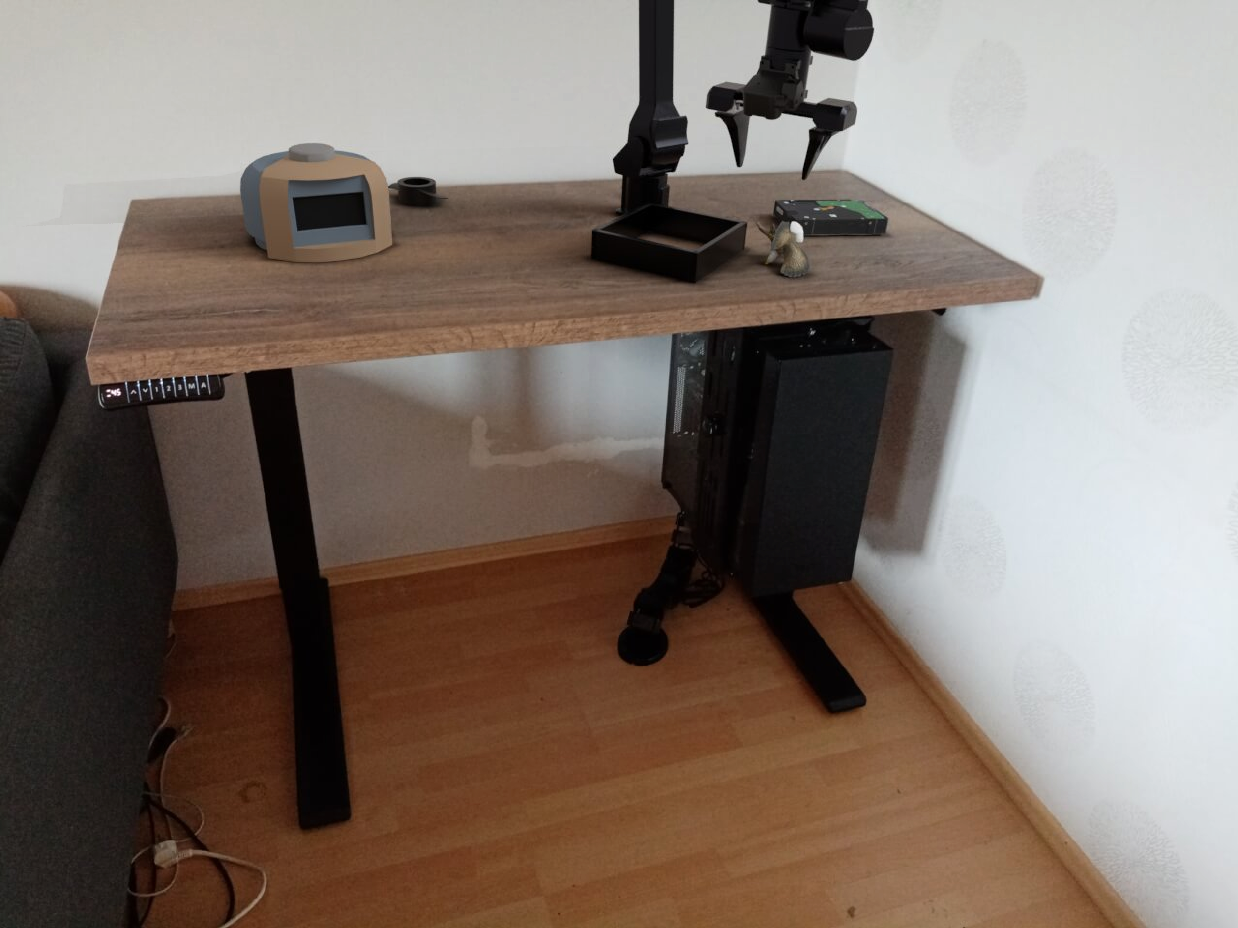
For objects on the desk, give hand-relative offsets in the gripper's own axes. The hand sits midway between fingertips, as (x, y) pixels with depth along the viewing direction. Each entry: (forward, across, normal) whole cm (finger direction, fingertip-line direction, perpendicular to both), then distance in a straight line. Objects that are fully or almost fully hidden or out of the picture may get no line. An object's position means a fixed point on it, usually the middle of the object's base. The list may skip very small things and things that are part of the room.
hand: (771, 173), depth 130 cm
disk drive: (+12, +3, +20) cm, 24 cm away
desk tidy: (+12, -11, -7) cm, 17 cm away
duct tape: (+12, -54, -8) cm, 56 cm away
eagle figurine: (+12, +4, -2) cm, 12 cm away
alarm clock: (+12, -53, -30) cm, 62 cm away
